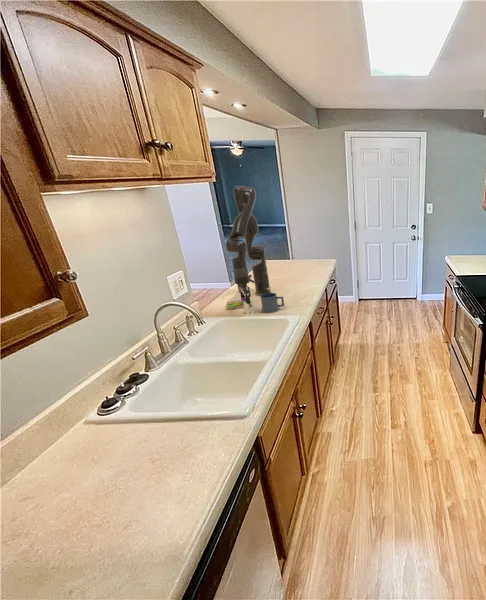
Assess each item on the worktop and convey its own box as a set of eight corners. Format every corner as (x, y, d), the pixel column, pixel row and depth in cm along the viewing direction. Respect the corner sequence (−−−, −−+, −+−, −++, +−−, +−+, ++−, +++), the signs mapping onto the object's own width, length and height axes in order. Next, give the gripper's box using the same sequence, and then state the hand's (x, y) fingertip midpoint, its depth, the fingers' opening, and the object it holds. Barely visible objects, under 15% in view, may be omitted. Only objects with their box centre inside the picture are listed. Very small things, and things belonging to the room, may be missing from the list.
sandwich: (256, 297, 220) (255, 290, 218) (251, 308, 202) (250, 300, 200) (231, 299, 216) (230, 292, 215) (224, 310, 199) (222, 302, 197)
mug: (261, 313, 194) (259, 298, 191) (264, 307, 203) (262, 293, 199) (283, 311, 197) (281, 296, 193) (285, 306, 205) (283, 292, 202)
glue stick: (244, 312, 195) (241, 297, 192) (249, 311, 197) (246, 296, 194) (245, 314, 193) (243, 299, 190) (251, 312, 195) (248, 297, 192)
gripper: (252, 276, 185) (256, 303, 190) (244, 271, 195) (248, 297, 200) (238, 278, 180) (243, 306, 185) (230, 273, 190) (235, 300, 195)
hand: (246, 301), depth 193 cm, fingers open, 8 cm apart
